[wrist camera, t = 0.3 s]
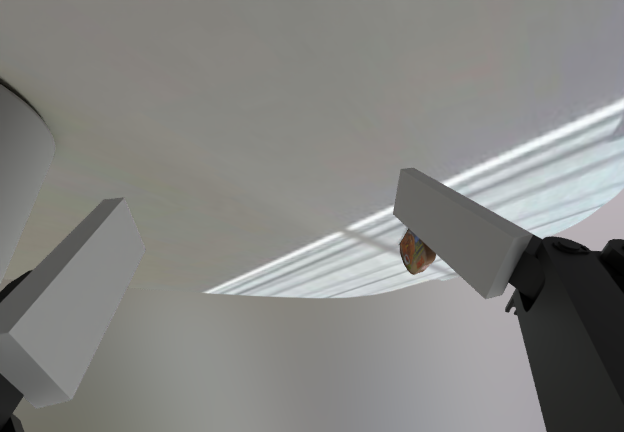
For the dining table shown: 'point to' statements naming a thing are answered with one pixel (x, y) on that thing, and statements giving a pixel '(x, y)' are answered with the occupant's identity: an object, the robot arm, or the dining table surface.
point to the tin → (415, 253)
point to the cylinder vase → (19, 168)
